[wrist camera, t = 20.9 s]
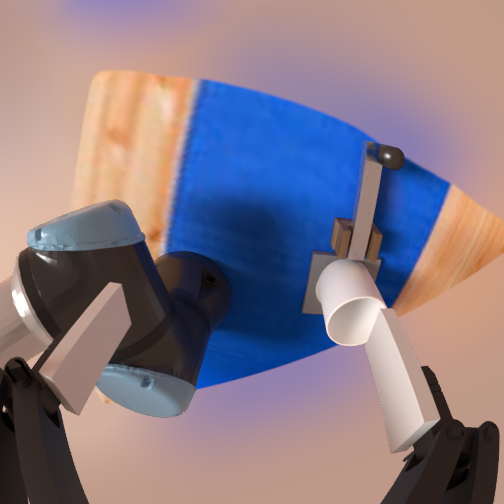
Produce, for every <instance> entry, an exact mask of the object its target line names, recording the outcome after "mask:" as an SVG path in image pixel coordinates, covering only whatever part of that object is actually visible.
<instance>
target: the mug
mask: <svg viewBox="0 0 504 504" xmlns="http://www.w3.org/2000/svg"><path fill="white" fill-rule="evenodd" d="M318 289H319V295H320V299H321V304H322V309H323V314H324V319H325V325H326V330H327V334H328V336H329V337H330V338H331V339H332V340H333V341H334V342H335V343H337V344H340V345H344V346H357V345H361V344H365V343H367V340H368V338H369V336H370V333H371V331H372V329H373V326H374V324H375V321H376V319H377V316H378V313H379V311H380V308H387V306H386V304H385V302H384V300H383V298H382V296H381V294H380V292H379V290H378V289H377V287H376V285H375V283H374V281H373V279H372V277H371V275H370V273H369V271H368V270H367V268H366V267H365V266H364V265H363V264H362V263H361V262H359V261H357V260H349V259H347V258H345V259H339V260H336V261H334V262H332V263H330V264H329V265H328V266H327V267H326V268H325V269H324V270H323V271H322V273H321V275H320V277H319V282H318Z"/></svg>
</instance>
